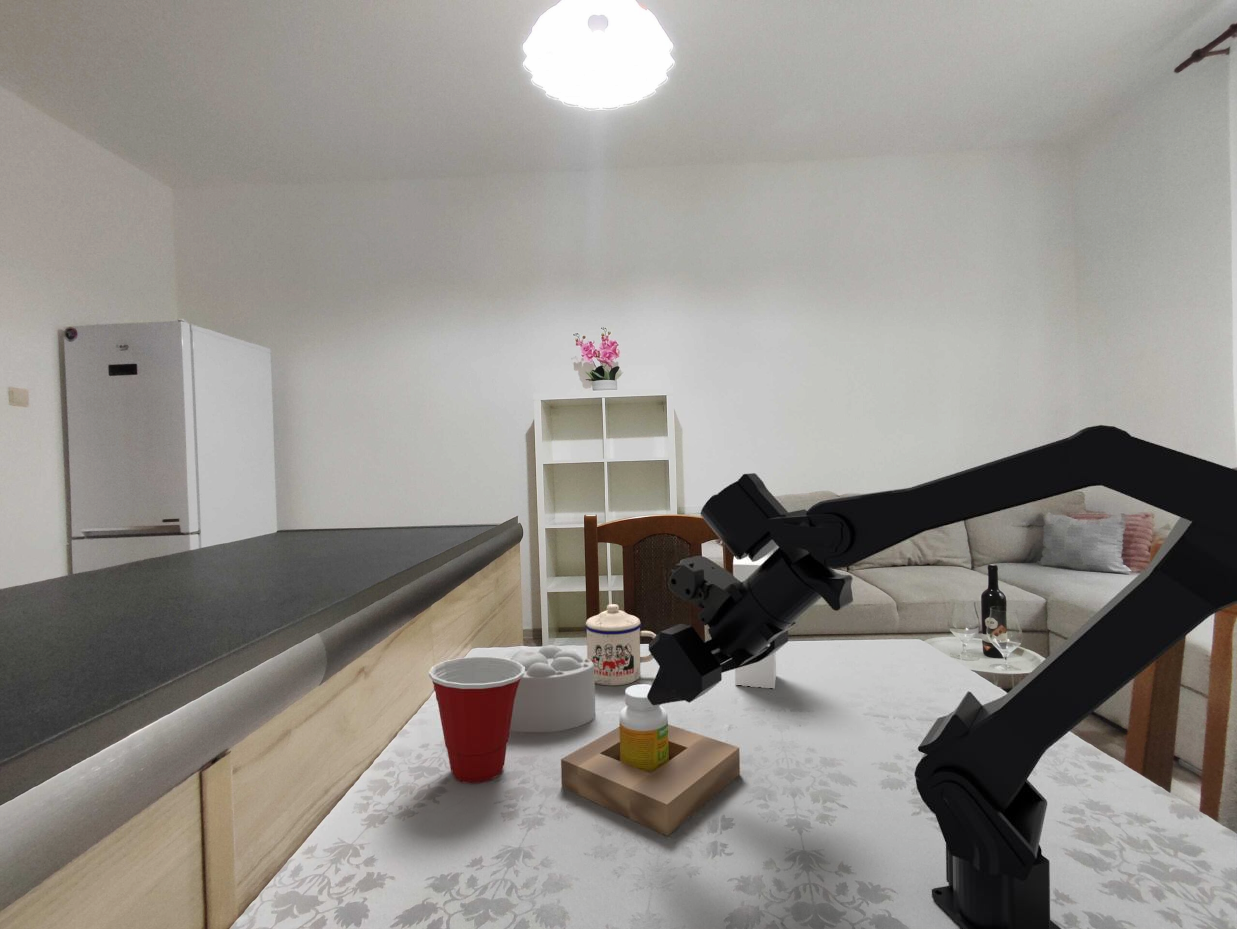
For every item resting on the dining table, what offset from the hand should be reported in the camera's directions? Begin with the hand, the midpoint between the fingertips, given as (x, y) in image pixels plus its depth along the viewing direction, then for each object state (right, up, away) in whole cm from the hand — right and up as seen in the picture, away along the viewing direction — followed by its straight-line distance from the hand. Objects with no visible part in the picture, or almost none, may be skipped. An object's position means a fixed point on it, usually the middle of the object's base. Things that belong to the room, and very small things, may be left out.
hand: (676, 686), depth 64 cm
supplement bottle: (-3, -11, +3) cm, 12 cm away
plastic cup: (-22, -12, +5) cm, 26 cm away
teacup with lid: (-5, -11, +34) cm, 36 cm away
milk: (+16, -11, +31) cm, 37 cm away
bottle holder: (-3, -11, +3) cm, 12 cm away
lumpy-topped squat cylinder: (-16, -12, +20) cm, 28 cm away
